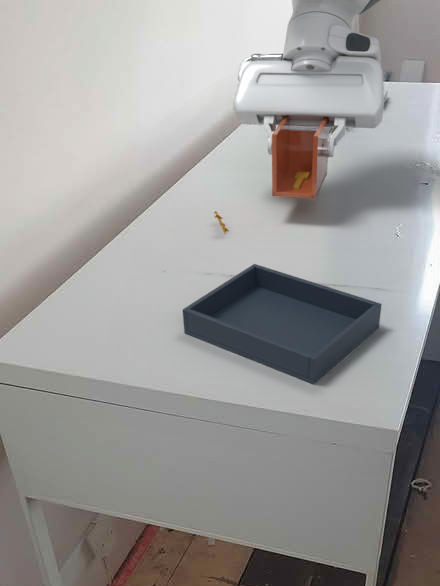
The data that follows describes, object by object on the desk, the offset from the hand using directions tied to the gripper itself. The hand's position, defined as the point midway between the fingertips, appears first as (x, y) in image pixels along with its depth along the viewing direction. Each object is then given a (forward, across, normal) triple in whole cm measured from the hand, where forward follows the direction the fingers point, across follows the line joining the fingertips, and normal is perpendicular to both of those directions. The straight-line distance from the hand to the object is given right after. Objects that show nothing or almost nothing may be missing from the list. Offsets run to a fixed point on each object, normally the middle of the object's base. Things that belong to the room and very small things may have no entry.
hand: (300, 154), depth 97 cm
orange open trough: (+3, 0, +4) cm, 4 cm away
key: (+2, 0, +3) cm, 4 cm away
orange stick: (+10, -10, +3) cm, 14 cm away
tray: (+28, +4, -15) cm, 32 cm away
